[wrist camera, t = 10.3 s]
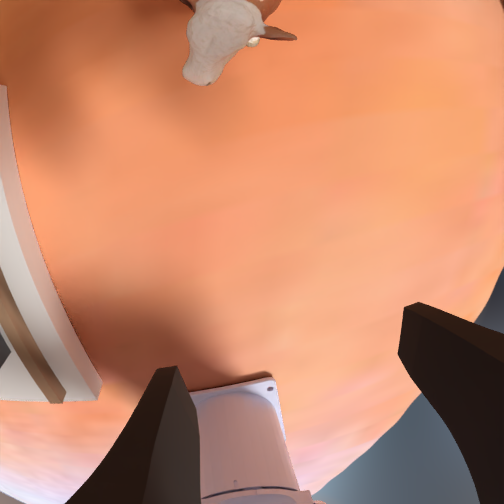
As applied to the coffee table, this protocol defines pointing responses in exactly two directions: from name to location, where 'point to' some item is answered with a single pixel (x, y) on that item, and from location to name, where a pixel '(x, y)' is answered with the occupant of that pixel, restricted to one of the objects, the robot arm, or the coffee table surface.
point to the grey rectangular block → (3, 351)
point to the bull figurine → (225, 34)
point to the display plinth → (33, 303)
